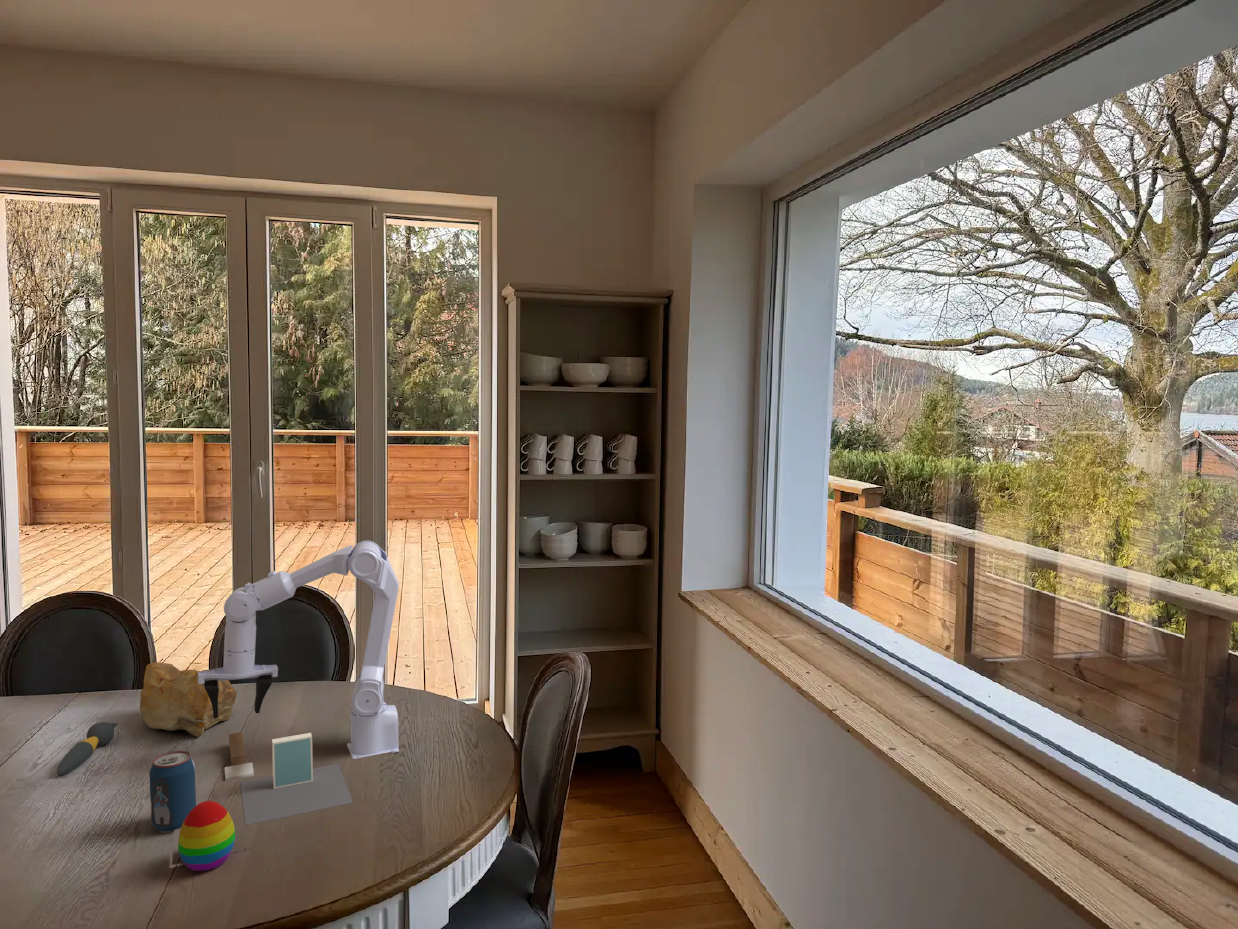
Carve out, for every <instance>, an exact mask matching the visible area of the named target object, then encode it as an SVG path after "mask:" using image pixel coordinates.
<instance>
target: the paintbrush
mask: <svg viewBox="0 0 1238 929" xmlns="http://www.w3.org/2000/svg"><path fill="white" fill-rule="evenodd" d="M118 724H119V723H117V722H115V723H114V722H108V721H100V722H96V723H94V724H92V725H91V726H89V728H88V730H87V733H86V738H85V739H83V740H81V741H79V742H78V743H76V744H75V745H74V746H73V747H71V748H70V750H69V751H68V752H67V753H66V754H65V755H64V757H63V758H62V759H61V761H59V764H58V766H57V768H56V772H55V773H56V775H58V776H62V775H66V774H68V773H70V772H72V771H74V770H76V769H77V768H78V767H80V766H82V765H83V764H84V763H85V762H86V761H87V760H88V759H89V758H91V757H92V755H93V754H94V752H95V750H96V748H97V747H98V748H101V747H105V746H107V745H108V744H110V743H112V742H111V741H113V739H114V736H115V728H116V726H118Z"/></svg>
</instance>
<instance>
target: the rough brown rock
mask: <svg viewBox="0 0 1238 929" xmlns="http://www.w3.org/2000/svg"><path fill="white" fill-rule="evenodd" d="M207 670H208V669H202V670H197V669H183V670H182V669H181V670H180V669H179V668H177V667H176V666H175V665H173V663H167V662H159V661H157V662H150V663H148V664H146V666H145V671H144V677H143V688H142V689H141V690H140V701H139V710H140V714H141V716H142V720H143V723H144V724H145V725H146V726H147V727H148V728H149V729H152V730H153V729H154V730H165V731H169V732H172V731H179V730H185V731H186V732H187V733H189V734H190V735H192V736H194V737H200V736H202V735H203V734H204V733H205V730H208V729H209V728H211V727H212V726H215V725H216V724H218V723H219V722H224V721H228V720H230V718H231V716H232V710H233V707H234V705H235V701H236V698H237V695H238V693H237V690H236V689H235V688H234V686H233V685H232V683H231V682H230V680H225V681H218V687H219V694H218V718H214V717H213V708H212V704H211V701H210V698H209V696H208V694H207V692H206V690H205V687H204V684H198V672H200V671H207Z"/></svg>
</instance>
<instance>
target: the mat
mask: <svg viewBox="0 0 1238 929" xmlns="http://www.w3.org/2000/svg"><path fill="white" fill-rule="evenodd" d="M348 788H349V787H348V785H347V783H346V781H345V777H344V775H343V773H342V770H341V767H340V765H339V763H335V764H330V765H326V766H325V765H324V766H319V767H315V768H313V781H311V782H306V783H301V784H296V785H291V786H286V787H281V788H275V789H274V787H273V775H272V776H267V777H261V778H258V779H257V778H256V779H251V780H246V781H242V782H240V790H241V799H242V800H241V801H242V807H243V813H244V814H243V816H244V824H245V826H249V825H255V824H258V823H264V822H267V821H268V822H269V821H274V820H277V819H283V818H287V817H291V816H292V817H293V816H297V815H301V814H305V813H310V812H311V813H312V812H315V811H320V810H324V809H325V810H326V809H330V808H333V807H338V806H343V805H347V804H352V803H354V801H353V799H352V796H351V793H350V791H349V789H348Z"/></svg>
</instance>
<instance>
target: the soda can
mask: <svg viewBox="0 0 1238 929" xmlns="http://www.w3.org/2000/svg"><path fill="white" fill-rule="evenodd" d="M195 768H196V766H195V761H194V760H193V759H192V756H191V754H190V753H189V752H188V751H183V750H174V751H169V752H166V753H162V754H160V755H159V756H158V755H157V757H155V758H154V759H153V761H152V765H151V767H150V769H149V774H148V775H149V792H150V793H149V795H150V796H149V798H150V800H149V801H150V822H151V825H152V826H153V827H154V829H156V830H157V831H158V832H159V833H165V834H166V833H167V834H168V833H174V831H175V830H178V829H181V827H182V824H183V822H184V820H185V818H186V817H187V815H188V814H189V813H190V811H191V810H192V809H193V808H194V807H195V806H197V797H196V796H197V794H196V793H197V791H196V770H195Z"/></svg>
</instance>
